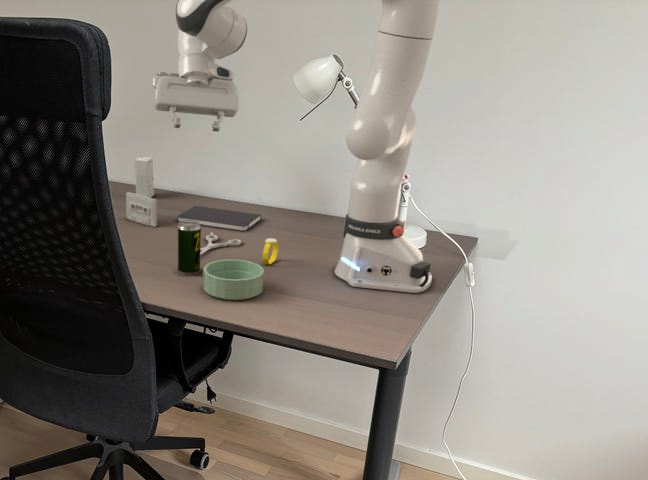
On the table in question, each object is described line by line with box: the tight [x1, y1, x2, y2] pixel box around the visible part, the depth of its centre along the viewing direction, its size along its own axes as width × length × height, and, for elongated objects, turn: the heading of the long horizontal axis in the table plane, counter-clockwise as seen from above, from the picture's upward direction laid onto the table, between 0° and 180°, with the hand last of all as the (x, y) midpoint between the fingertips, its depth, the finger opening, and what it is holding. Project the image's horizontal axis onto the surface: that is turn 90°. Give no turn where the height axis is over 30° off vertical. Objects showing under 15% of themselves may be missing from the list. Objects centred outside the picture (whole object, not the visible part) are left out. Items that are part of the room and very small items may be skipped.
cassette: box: [125, 191, 158, 228], centre depth 211 cm, size 12×2×8 cm, turn 47°
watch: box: [262, 237, 279, 266], centre depth 182 cm, size 6×3×6 cm, turn 148°
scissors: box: [200, 232, 242, 256], centre depth 192 cm, size 11×1×20 cm
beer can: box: [177, 220, 202, 276], centre depth 174 cm, size 5×5×12 cm
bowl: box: [202, 258, 265, 301], centre depth 166 cm, size 13×13×5 cm
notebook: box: [177, 205, 262, 232], centre depth 215 cm, size 13×2×21 cm
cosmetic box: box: [134, 156, 155, 198], centre depth 235 cm, size 6×4×12 cm
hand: (196, 128), depth 174 cm, fingers open, 8 cm apart
